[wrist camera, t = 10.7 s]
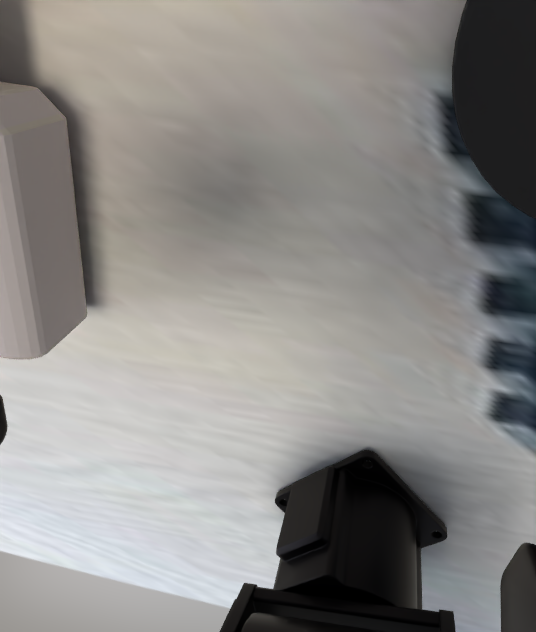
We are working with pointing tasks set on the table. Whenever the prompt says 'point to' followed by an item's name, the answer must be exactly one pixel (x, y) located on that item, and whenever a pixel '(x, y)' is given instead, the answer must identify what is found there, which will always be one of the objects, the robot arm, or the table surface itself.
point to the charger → (36, 227)
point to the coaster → (499, 95)
